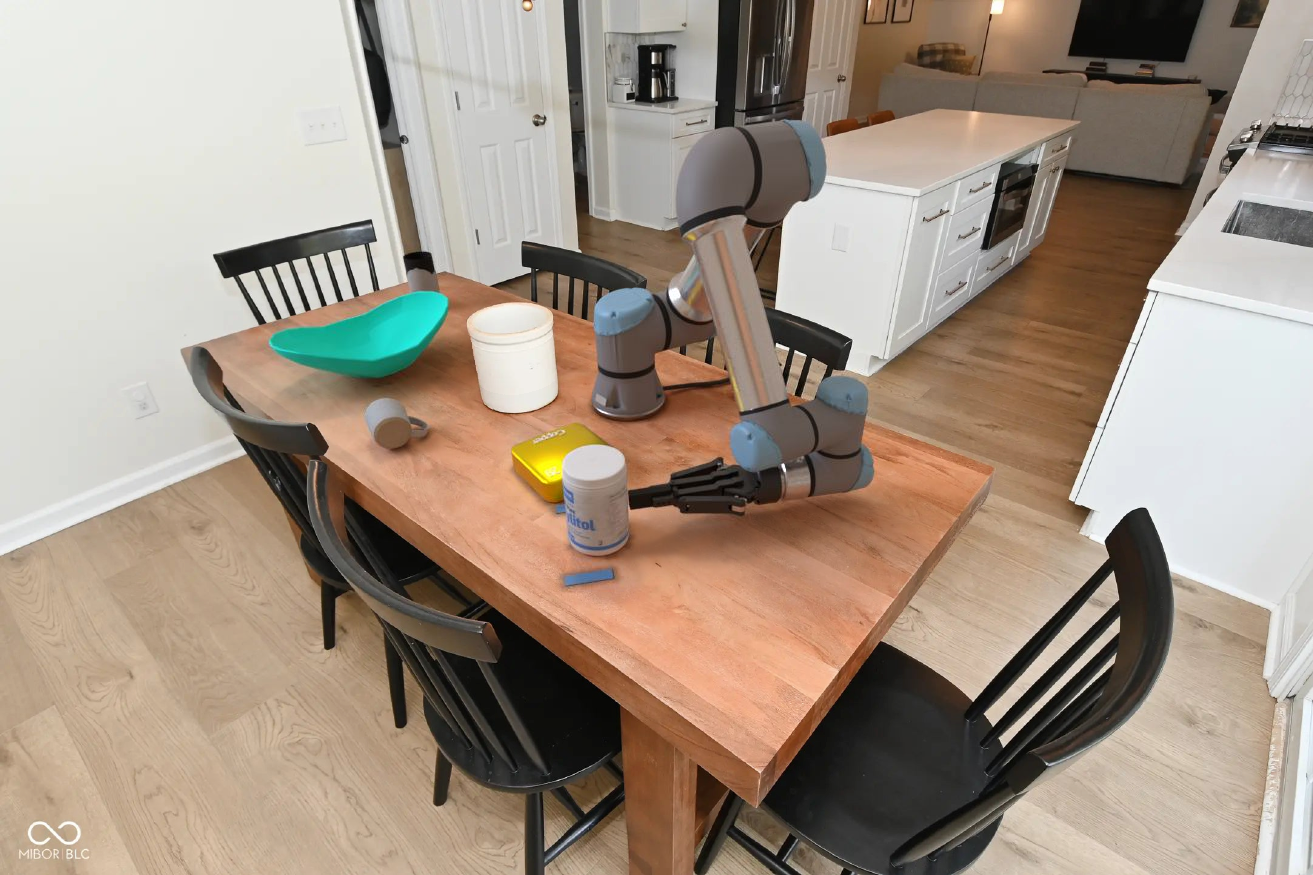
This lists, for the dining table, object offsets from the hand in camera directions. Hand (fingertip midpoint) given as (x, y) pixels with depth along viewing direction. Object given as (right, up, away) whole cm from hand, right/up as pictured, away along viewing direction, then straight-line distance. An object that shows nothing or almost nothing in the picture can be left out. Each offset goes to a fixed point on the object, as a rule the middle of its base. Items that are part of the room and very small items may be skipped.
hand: (629, 500), depth 104 cm
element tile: (-12, +4, +19) cm, 22 cm away
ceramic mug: (-46, +9, +29) cm, 55 cm away
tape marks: (-7, -6, +2) cm, 10 cm away
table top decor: (-61, +25, +54) cm, 85 cm away
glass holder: (-60, +47, +90) cm, 118 cm away
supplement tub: (-5, -6, +3) cm, 8 cm away
